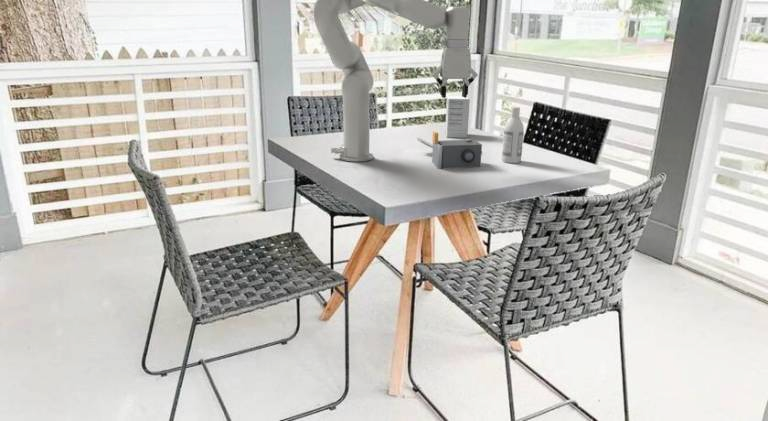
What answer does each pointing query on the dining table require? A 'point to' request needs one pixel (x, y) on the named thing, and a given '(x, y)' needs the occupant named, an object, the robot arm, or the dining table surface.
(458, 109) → the supplement box
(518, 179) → the dining table surface
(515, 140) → the bath foam
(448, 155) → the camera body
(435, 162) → the side door
